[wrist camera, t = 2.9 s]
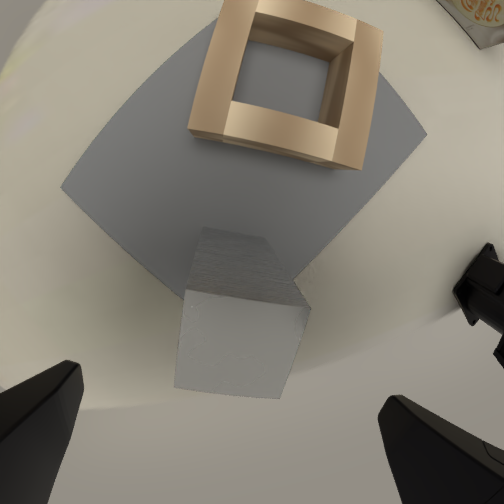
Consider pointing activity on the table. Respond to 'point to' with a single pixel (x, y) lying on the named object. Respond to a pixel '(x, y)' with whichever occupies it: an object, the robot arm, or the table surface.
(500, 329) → the robot arm
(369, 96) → the wooden square frame
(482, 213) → the table surface
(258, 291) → the steel pin
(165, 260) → the rubber mat
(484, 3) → the coffee box
